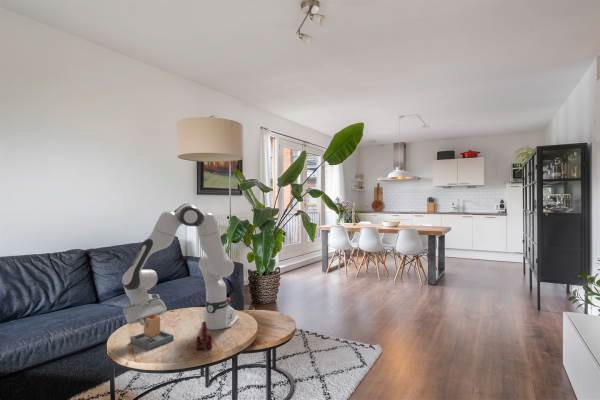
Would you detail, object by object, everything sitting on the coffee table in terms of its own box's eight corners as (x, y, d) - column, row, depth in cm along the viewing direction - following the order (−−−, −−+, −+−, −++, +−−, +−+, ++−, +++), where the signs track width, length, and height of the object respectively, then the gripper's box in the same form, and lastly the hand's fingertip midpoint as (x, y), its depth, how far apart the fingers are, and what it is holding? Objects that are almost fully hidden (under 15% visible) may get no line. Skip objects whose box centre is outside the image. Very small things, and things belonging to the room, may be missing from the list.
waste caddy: (143, 335, 173) (143, 317, 173) (153, 332, 177) (152, 314, 177) (150, 338, 169) (150, 319, 169) (160, 334, 174) (160, 316, 174)
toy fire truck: (196, 353, 160) (196, 330, 160) (196, 342, 172) (196, 321, 172) (212, 351, 162) (211, 328, 162) (211, 340, 174) (211, 320, 174)
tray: (130, 342, 172) (130, 337, 172) (155, 333, 183) (155, 328, 183) (148, 349, 163) (148, 344, 163) (173, 340, 175) (173, 335, 175)
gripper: (123, 303, 169) (135, 328, 163) (161, 294, 185) (172, 315, 180) (119, 311, 171) (130, 335, 166) (156, 301, 188) (167, 322, 182)
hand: (152, 325), depth 173 cm, fingers closed on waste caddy, 5 cm apart
